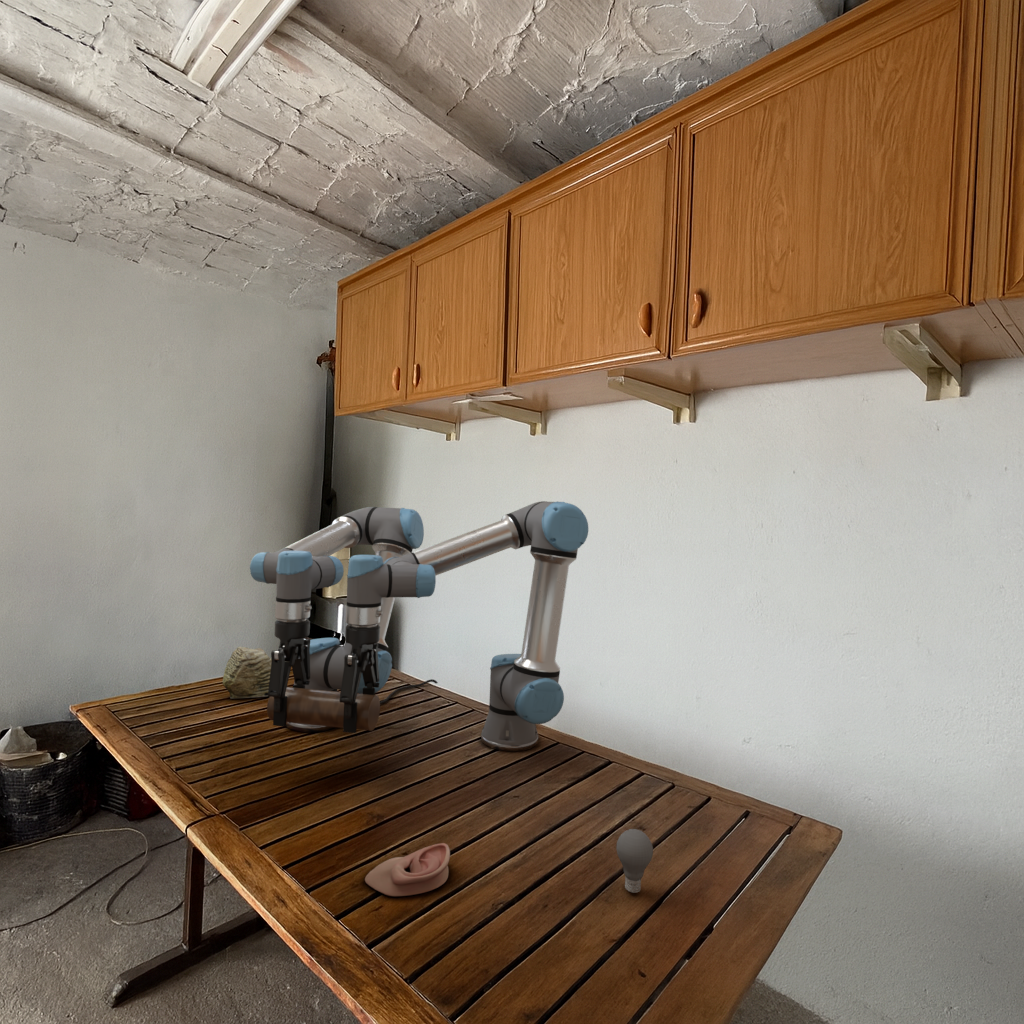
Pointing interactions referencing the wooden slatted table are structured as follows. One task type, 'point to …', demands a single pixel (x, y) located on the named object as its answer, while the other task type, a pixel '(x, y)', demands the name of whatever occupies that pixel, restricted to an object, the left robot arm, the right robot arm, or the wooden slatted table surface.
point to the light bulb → (634, 857)
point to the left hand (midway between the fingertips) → (288, 718)
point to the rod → (326, 708)
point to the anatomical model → (412, 872)
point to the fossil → (247, 673)
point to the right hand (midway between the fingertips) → (359, 723)
